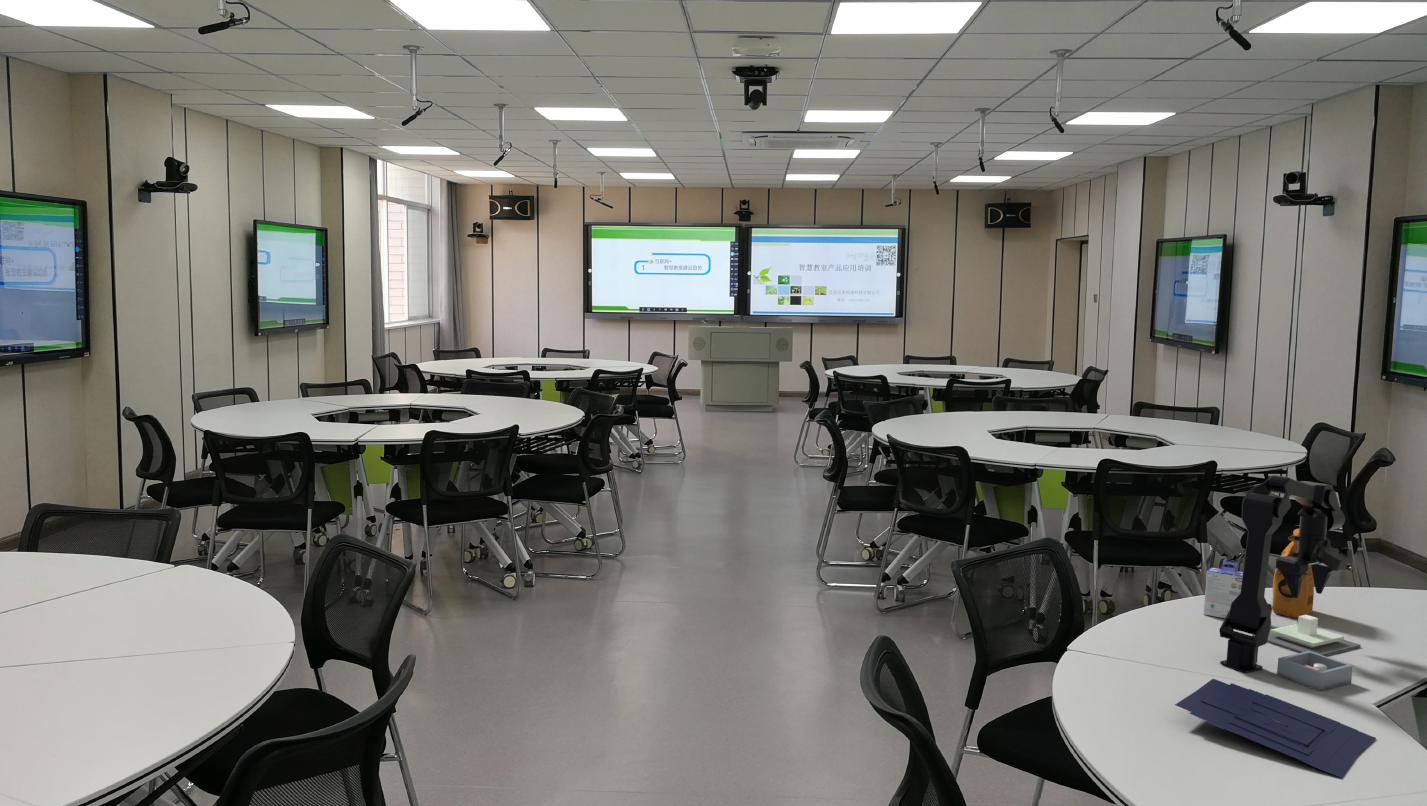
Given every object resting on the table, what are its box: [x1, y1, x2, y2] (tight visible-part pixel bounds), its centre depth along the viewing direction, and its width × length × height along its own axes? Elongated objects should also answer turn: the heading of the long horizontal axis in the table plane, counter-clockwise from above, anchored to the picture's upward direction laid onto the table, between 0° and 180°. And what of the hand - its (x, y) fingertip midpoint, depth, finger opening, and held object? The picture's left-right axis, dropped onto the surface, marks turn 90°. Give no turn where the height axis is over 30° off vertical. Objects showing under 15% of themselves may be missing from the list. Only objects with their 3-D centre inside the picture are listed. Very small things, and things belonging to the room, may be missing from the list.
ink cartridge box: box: [1203, 560, 1243, 619], centre depth 269 cm, size 10×6×14 cm, turn 53°
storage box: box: [1276, 651, 1354, 692], centre depth 226 cm, size 11×10×4 cm
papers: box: [1174, 678, 1377, 778], centre depth 198 cm, size 24×30×4 cm
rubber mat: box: [1251, 632, 1362, 657], centre depth 251 cm, size 18×16×1 cm
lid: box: [1270, 615, 1345, 648], centre depth 250 cm, size 12×11×6 cm
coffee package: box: [1271, 528, 1315, 619], centre depth 273 cm, size 10×12×22 cm
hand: (1307, 595), depth 249 cm, fingers open, 9 cm apart
